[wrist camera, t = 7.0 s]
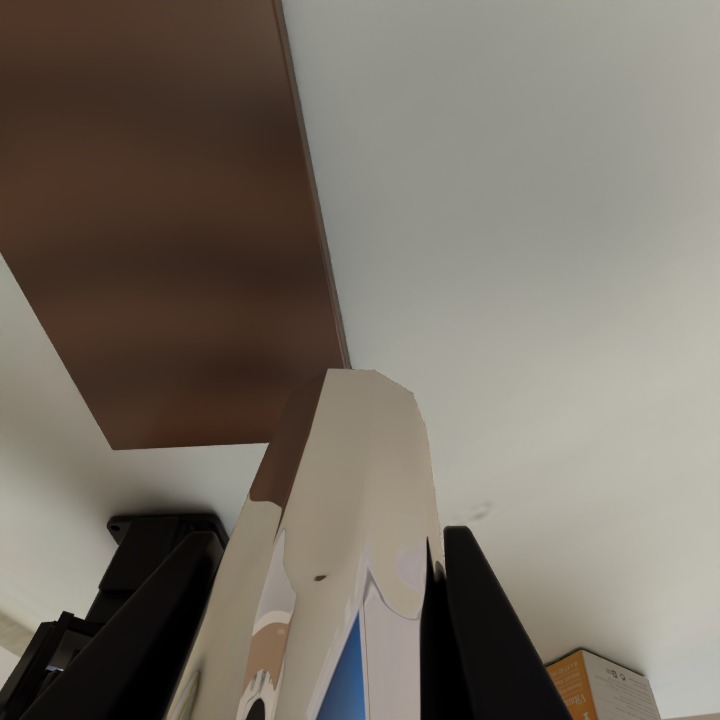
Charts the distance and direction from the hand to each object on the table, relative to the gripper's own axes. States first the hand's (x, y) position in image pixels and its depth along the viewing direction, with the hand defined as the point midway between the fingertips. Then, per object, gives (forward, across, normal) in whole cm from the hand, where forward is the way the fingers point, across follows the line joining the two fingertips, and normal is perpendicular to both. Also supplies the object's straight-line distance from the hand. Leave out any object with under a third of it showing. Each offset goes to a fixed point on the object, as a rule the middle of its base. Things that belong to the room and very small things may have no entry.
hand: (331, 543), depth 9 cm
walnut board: (+13, +8, 0) cm, 15 cm away
